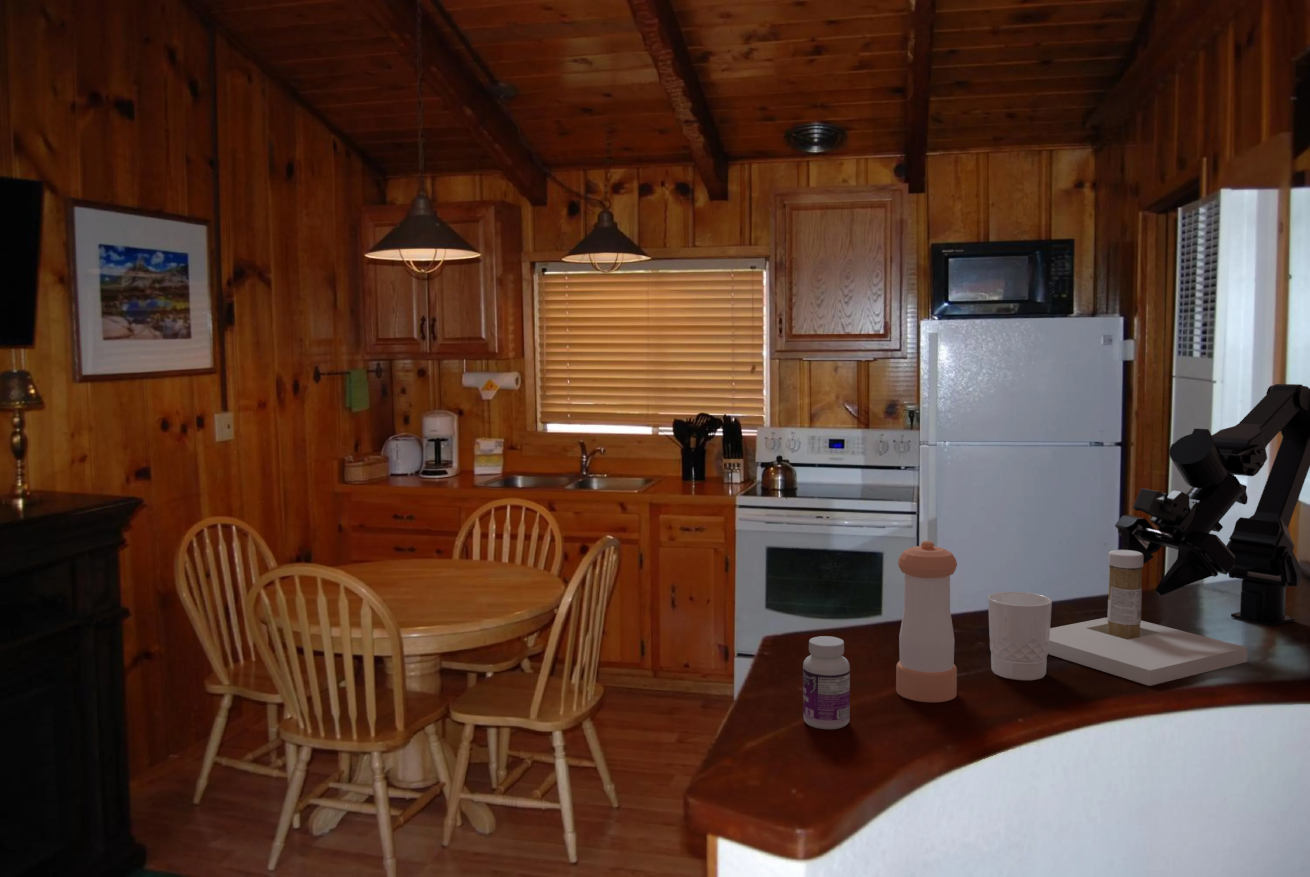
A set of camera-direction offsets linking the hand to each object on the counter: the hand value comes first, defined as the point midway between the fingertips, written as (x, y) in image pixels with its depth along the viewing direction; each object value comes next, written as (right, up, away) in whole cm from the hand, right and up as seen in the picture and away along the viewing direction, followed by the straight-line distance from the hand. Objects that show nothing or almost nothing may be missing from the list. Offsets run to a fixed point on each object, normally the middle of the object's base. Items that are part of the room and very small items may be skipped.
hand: (1135, 586), depth 147 cm
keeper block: (-3, -9, -5) cm, 10 cm away
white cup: (-21, -10, -12) cm, 26 cm away
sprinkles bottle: (-2, -9, 0) cm, 9 cm away
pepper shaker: (-35, -11, -20) cm, 42 cm away
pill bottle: (-50, -12, -29) cm, 59 cm away
